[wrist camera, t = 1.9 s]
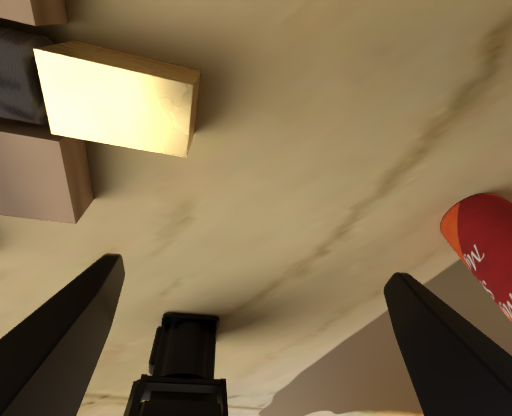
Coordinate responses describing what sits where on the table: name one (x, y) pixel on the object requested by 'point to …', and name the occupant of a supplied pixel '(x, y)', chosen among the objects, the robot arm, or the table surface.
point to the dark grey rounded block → (21, 77)
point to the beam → (41, 147)
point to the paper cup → (484, 242)
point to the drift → (118, 97)
